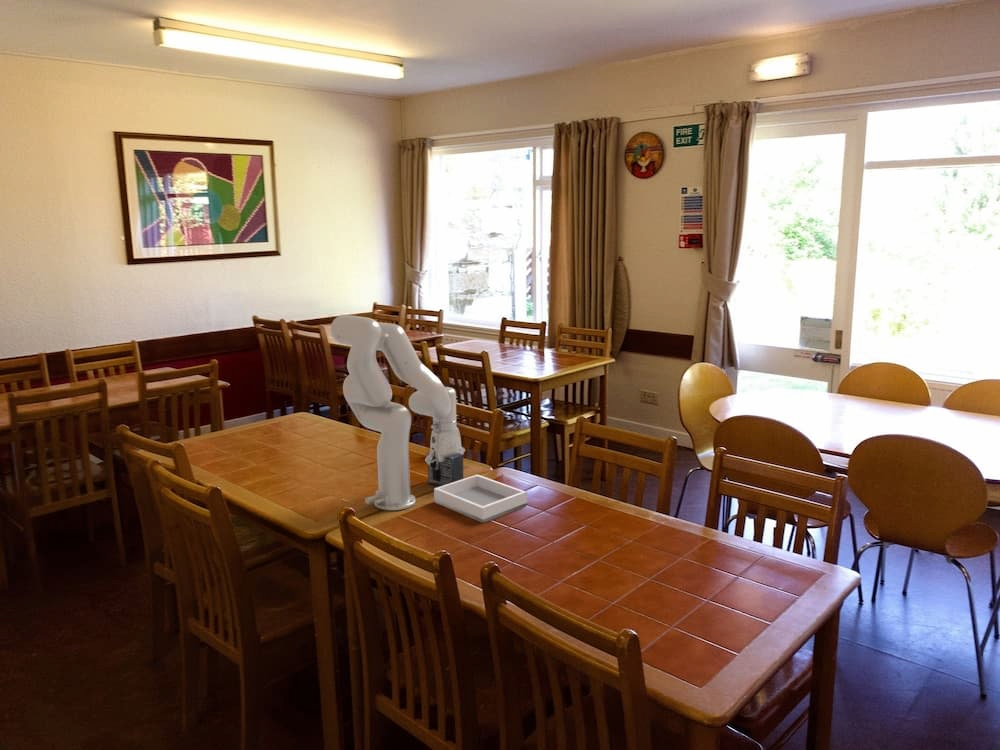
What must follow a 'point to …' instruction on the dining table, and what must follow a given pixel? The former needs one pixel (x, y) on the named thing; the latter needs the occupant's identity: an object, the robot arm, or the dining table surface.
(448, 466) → the small box
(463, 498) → the bin
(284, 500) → the dining table surface
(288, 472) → the dining table surface
